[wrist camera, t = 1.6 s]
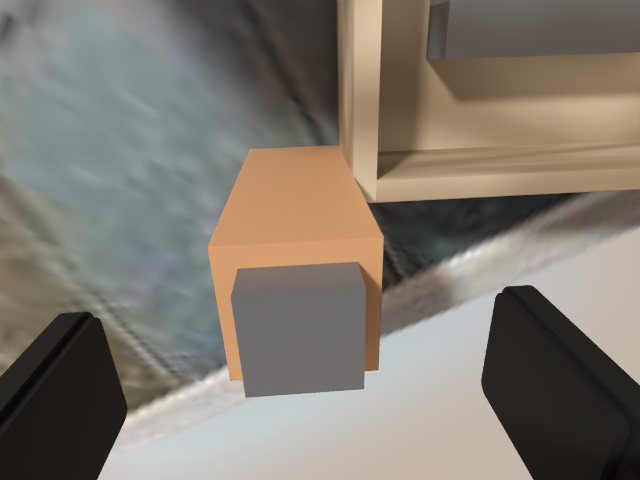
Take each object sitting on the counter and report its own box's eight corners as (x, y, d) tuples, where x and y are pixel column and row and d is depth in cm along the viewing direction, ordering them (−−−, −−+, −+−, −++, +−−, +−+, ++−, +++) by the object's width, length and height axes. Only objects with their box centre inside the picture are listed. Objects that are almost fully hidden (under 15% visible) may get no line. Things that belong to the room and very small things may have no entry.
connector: (249, 148, 18) (196, 273, 8) (337, 145, 18) (396, 262, 8) (258, 229, 20) (223, 417, 10) (339, 225, 20) (388, 405, 10)
